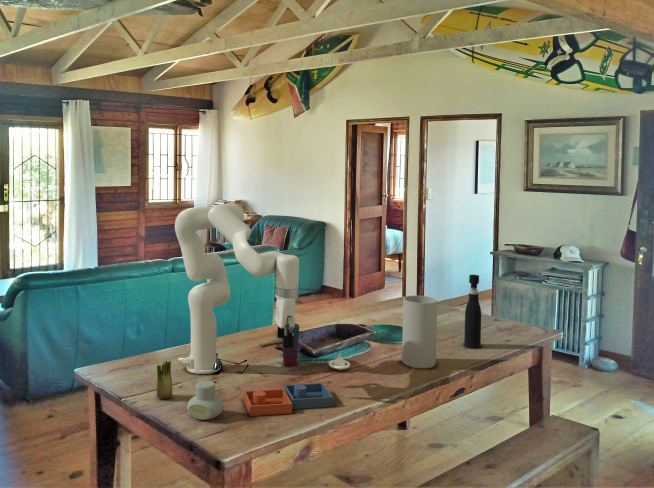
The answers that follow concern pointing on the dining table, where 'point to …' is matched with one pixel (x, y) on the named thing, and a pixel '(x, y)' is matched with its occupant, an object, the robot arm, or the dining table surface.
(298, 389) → the blue handled cylinder
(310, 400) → the slate bin
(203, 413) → the air freshener
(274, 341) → the jawbone
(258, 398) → the orange toy mallet
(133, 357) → the dining table surface
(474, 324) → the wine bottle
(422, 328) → the cylinder vase
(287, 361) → the cup
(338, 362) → the ring around a ball
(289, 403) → the terracotta bin
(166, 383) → the fennel bulb
